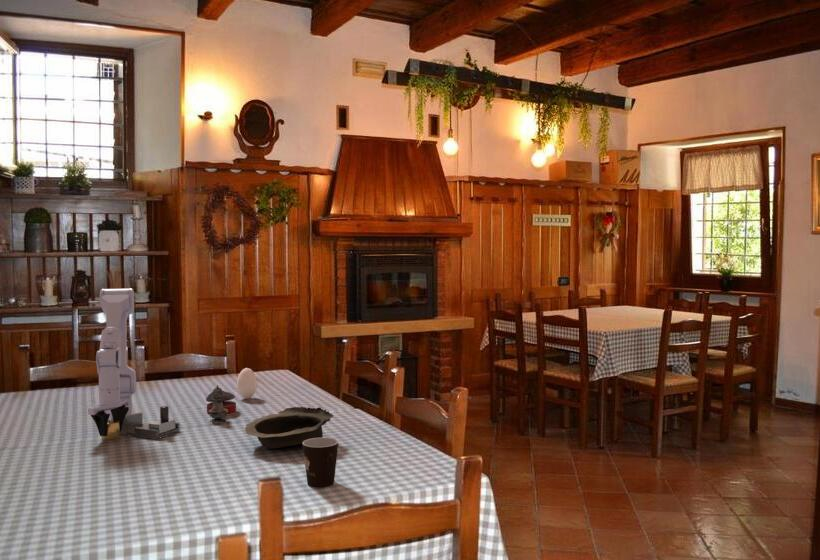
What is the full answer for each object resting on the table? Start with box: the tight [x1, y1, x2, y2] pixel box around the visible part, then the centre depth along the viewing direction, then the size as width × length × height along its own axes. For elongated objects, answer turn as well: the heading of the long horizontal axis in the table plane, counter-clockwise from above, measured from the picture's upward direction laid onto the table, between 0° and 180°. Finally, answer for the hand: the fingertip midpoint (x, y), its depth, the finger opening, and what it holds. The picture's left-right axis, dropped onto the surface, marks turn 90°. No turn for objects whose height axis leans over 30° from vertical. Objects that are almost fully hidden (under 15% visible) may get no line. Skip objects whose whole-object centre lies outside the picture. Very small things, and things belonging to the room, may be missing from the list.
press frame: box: [120, 412, 181, 440], centre depth 217 cm, size 16×10×4 cm, turn 68°
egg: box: [236, 367, 258, 400], centre depth 266 cm, size 7×7×12 cm
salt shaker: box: [209, 384, 227, 424], centre depth 231 cm, size 6×6×12 cm
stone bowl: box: [244, 406, 334, 450], centre depth 203 cm, size 25×25×9 cm
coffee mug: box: [301, 437, 339, 489], centre depth 168 cm, size 12×9×10 cm
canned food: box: [205, 390, 237, 416], centre depth 244 cm, size 11×10×10 cm
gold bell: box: [100, 419, 121, 442], centre depth 210 cm, size 5×5×6 cm
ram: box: [148, 405, 176, 434], centre depth 215 cm, size 4×7×7 cm, turn 158°
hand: (110, 433), depth 210 cm, fingers closed on gold bell, 5 cm apart
